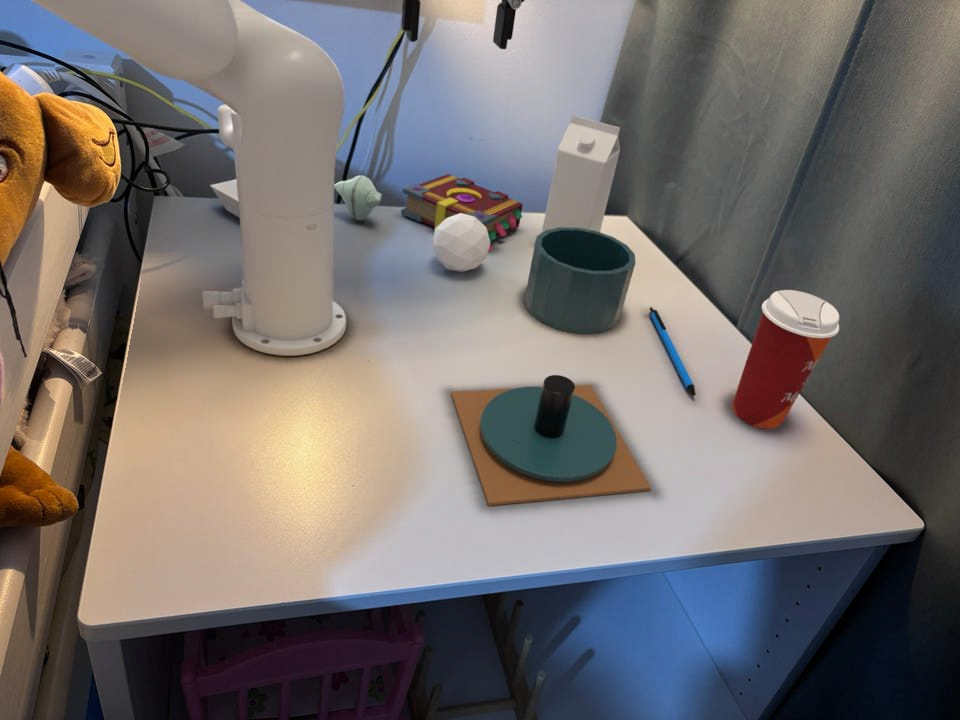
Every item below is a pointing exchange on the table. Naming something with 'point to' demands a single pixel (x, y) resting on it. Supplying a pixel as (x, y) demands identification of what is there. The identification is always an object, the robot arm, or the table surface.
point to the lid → (548, 432)
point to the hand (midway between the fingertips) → (456, 42)
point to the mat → (519, 488)
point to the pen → (672, 351)
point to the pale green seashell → (359, 196)
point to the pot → (578, 279)
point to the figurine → (232, 137)
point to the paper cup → (783, 355)
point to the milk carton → (582, 175)
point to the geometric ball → (461, 242)
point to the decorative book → (462, 204)
